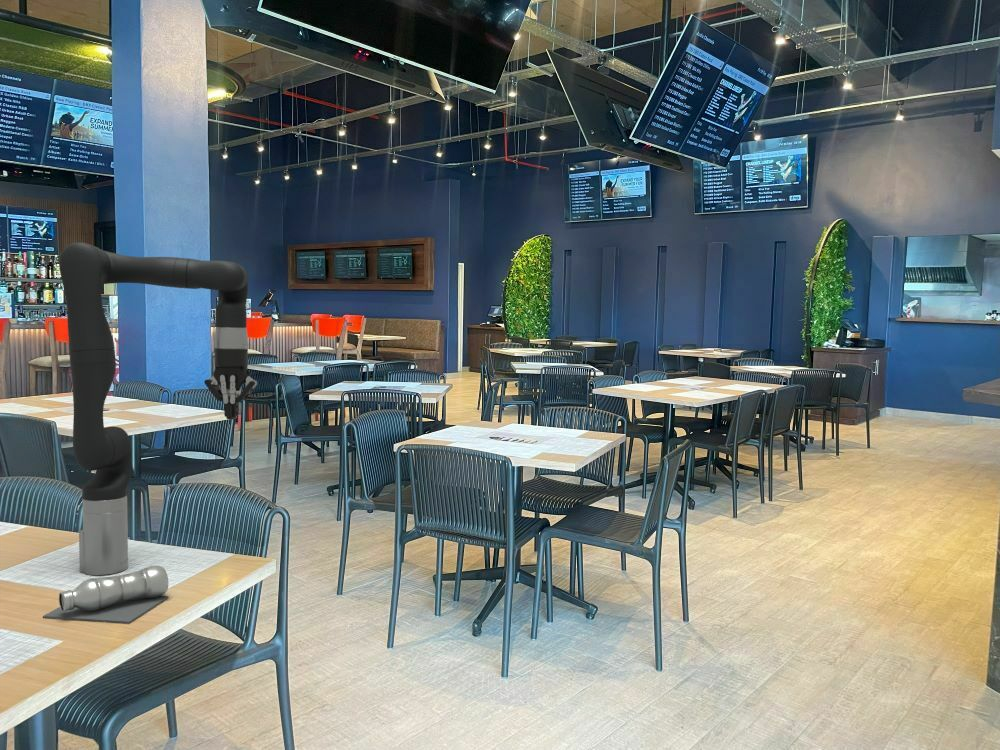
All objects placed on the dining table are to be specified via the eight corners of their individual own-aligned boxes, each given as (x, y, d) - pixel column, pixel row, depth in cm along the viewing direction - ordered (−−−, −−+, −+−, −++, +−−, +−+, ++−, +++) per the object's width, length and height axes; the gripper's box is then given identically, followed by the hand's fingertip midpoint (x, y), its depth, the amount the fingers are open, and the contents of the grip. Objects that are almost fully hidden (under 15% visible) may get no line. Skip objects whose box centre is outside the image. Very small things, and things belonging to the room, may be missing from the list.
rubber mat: (42, 618, 151) (42, 616, 151) (88, 593, 164) (88, 591, 164) (129, 623, 149) (129, 621, 148) (168, 598, 162) (168, 596, 162)
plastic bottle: (167, 600, 164) (63, 626, 150) (158, 575, 167) (54, 597, 153) (174, 582, 160) (68, 606, 147) (164, 556, 164) (59, 577, 150)
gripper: (196, 346, 180) (197, 420, 182) (250, 347, 179) (251, 422, 180) (212, 345, 188) (212, 416, 189) (264, 346, 186) (264, 418, 188)
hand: (231, 418), depth 185 cm, fingers closed
